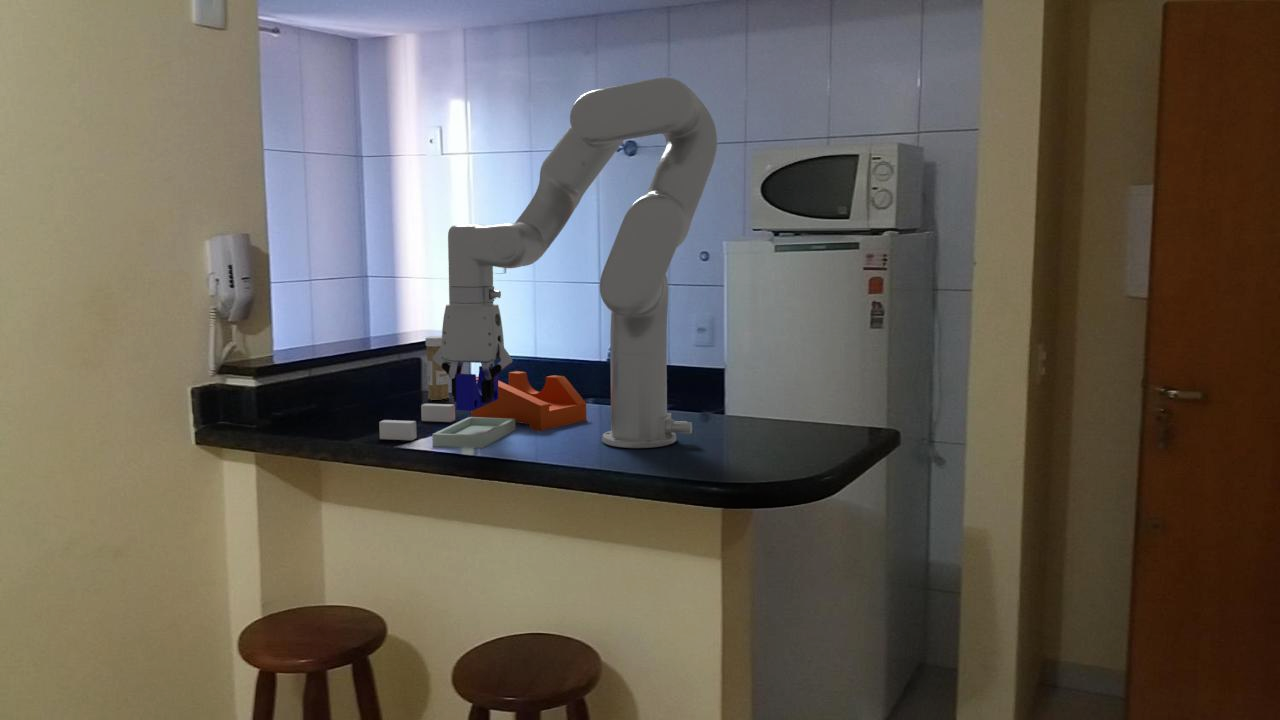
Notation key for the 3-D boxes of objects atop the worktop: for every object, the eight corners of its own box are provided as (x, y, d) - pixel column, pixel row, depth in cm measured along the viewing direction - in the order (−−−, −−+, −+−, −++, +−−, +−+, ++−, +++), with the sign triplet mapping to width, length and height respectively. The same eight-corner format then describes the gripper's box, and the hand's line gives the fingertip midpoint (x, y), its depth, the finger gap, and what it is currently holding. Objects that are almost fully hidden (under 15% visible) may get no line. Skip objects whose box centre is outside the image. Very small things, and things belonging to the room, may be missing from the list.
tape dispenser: (471, 422, 203) (469, 379, 201) (517, 412, 212) (516, 371, 211) (541, 433, 192) (540, 387, 191) (586, 422, 202) (585, 378, 201)
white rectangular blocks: (455, 420, 203) (454, 404, 202) (411, 440, 184) (410, 423, 184) (426, 418, 204) (425, 403, 204) (379, 438, 186) (379, 422, 185)
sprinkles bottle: (447, 400, 224) (445, 337, 222) (425, 401, 224) (423, 337, 222) (450, 397, 229) (448, 335, 227) (429, 397, 228) (427, 335, 227)
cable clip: (474, 397, 192) (474, 365, 191) (498, 399, 191) (498, 366, 190) (448, 409, 181) (447, 374, 180) (472, 410, 180) (472, 375, 179)
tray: (515, 429, 193) (515, 418, 193) (482, 447, 178) (482, 436, 177) (469, 427, 195) (468, 416, 195) (432, 445, 180) (432, 434, 179)
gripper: (525, 296, 185) (526, 399, 187) (434, 294, 189) (436, 395, 191) (510, 299, 177) (511, 407, 180) (416, 297, 181) (418, 402, 184)
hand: (473, 400), depth 185 cm, fingers closed on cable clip, 4 cm apart
